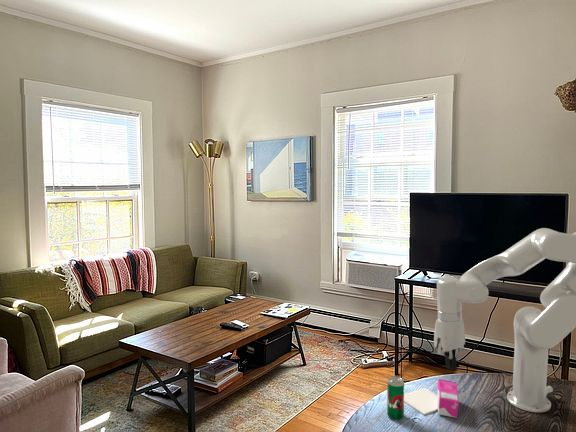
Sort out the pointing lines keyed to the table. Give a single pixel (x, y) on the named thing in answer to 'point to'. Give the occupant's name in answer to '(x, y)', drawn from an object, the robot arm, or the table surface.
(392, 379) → the soda can
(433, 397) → the mat
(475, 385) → the table surface
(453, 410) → the supplement box
